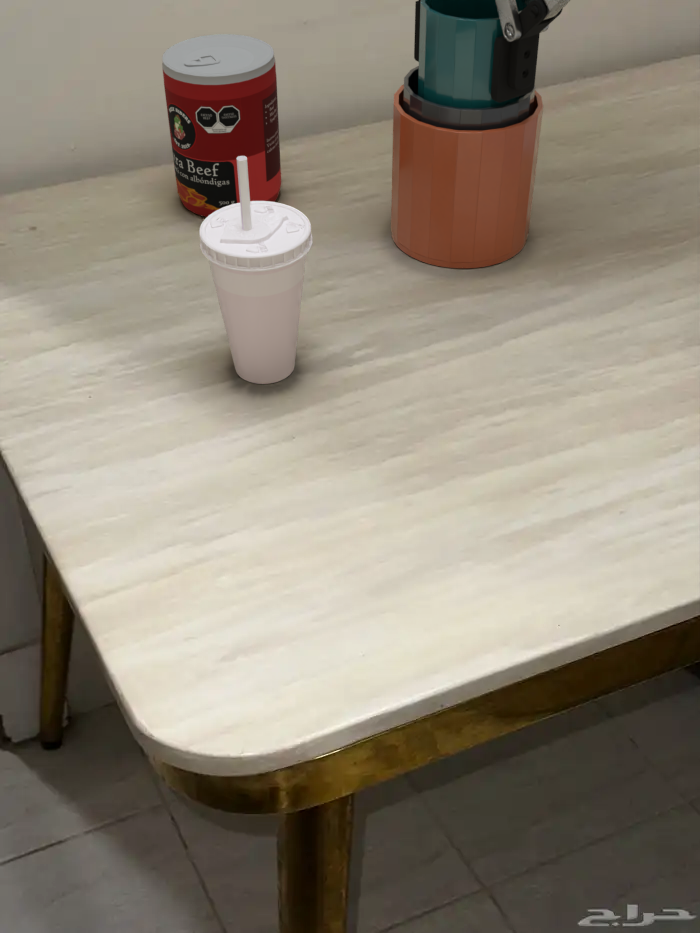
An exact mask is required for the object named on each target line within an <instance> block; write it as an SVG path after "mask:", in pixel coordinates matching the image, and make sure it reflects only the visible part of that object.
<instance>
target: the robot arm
mask: <svg viewBox="0 0 700 933" xmlns="http://www.w3.org/2000/svg"><path fill="white" fill-rule="evenodd" d="M524 1H525V5H526V7H525V8H524V9H523V10H522V11H521V12H520V13H518V9H517V5H516V0H495V2H496V6H497V11H498V15H499V19H500V23H501V27H502V32H503V35H504V36H500V37H497V38H495V43H494V55H493V69H492V83H491V98H492V99H493V100H494V101H496V102H499V103H501V102H504V101H507V100H510V99H513V98H516V97H519V96H522V95H525V94H528V93H530V92H532V90H533V89H534V85H535V84H536V74H537V66H538V65H537V64H538V53H539V44H540V35H541V33H544V32H547V30H549V27H550V24H551V23H553V21H554V20H556V19H557V18H558V17H559V16H560V15H561V14H562V12H563V10H564V8H565V7H566V6H567V5H568V4H569V3H570V2H571V0H524ZM420 3H421V0H417V1H415V5H414V6H415V9H414V43H413V47H414V48H413V58H414V60H415V61H416V62H418V63H419V38H420ZM535 86H536V85H535Z"/></svg>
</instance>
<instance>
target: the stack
mask: <svg viewBox="0 0 700 933" xmlns="http://www.w3.org/2000/svg"><path fill="white" fill-rule="evenodd" d="M403 98H404V83H403V84H401V85H400V86H399V88H398V89H397V90H396V91H395V92H394V93H393V107H392V108H393V111H392V157H391V158H392V159H391V160H392V161H391V162H392V163H391V164H392V165H391V206H390V208H391V210H390V213H391V214H390V234H391V238H392V240H393V242H394V244H395V245H396V246H397V247H398V249H399V250H400V251H401V252H402V253H404V254H406V255H407V256H409V257H410V258H413V259H415V260H417V261H419V262H422V263H425V264H428V265H432V266H436V267H440V268H441V267H442V268H449V269H450V268H451V269H478V268H486V267H490V266H491V267H492V266H494V265H498V264H501V263H503V262H505V261H508V260H510V259H511V258H514V257H515V256H517V255H518V254H519V253H520V252H521V251H522V250H523V249H524V247H525V246H526V244H527V241H528V236H529V234H530V228H531V226H530V225H531V218H532V217H531V216H532V210H533V209H532V208H533V199H534V192H535V183H536V173H537V165H538V158H539V157H538V156H539V148H540V137H541V131H542V130H541V129H542V121H543V112H544V104H543V98H542V95H541V94H540V93H539V92H538V91H537V90H536V89H535V94H534V104H533V113H532V116H530V117H528V118H527V119H525V120H524V121H522V122H520V123H517V124H514V125H511V126H508V127H505V128H499V129H491V130H483V131H470V130H453V129H447V128H441V127H436V126H433V125H429V124H426V123H423V122H420V121H418V120H416V119H415V118H413V117H411V116H410V115H408V114H406V113H405V112H404V110H403Z"/></svg>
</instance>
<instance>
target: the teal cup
mask: <svg viewBox="0 0 700 933" xmlns="http://www.w3.org/2000/svg"><path fill="white" fill-rule="evenodd" d="M516 5H517V9H518V13H520V12H521V11H522V10H523V9H524V8H525V7H526V5H525V1H524V0H516ZM500 36H504V35H503V32H502V27H501V23H500V19H499V15H498V11H497V6H496V2H495V0H421V3H420V38H419V62H418V66H419V74H418V96H419V97H421V98H423V99H425V100H427V101H430V102H433V103H436V104H439V105H443V106H450V107H456V108H489V107H497V106H502V105H505V104H509V103H512V102H515V101H517V100H519V99H520V98H522V97H523V96H524V95H522V96H519V97H516V98H513V99H510V100H507V101H504V102H501V103H499V102H496V101H494V100H493V99H492V98H491V83H492V69H493V55H494V43H495V38H497V37H500Z"/></svg>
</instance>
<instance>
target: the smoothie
mask: <svg viewBox="0 0 700 933" xmlns="http://www.w3.org/2000/svg"><path fill="white" fill-rule="evenodd" d="M237 170H238V182H239V195H240V203H236V204H231V205H228V206H225V207H223V208H221V209H218V210H216V211H215V212H213V213H212V214H210V215H209V216H208V217H205V219H203V221H202V222H201V224H200V226H199V232H198V233H199V248H200V251H201V253H202V255H203V256H204V257H205V258H206V259H207V260H208V263H209V266H210V267H209V268H210V272H211V276H212V279H213V280H212V281H213V284H214V288H215V293H216V297H217V301H218V304H219V309H220V313H221V316H222V321H223V325H224V329H225V333H226V336H227V340H228V345H229V349H230V353H231V358H232V361H233V366H234V370H235V372H236V374H237V375H238V376H239V377H240V378H241V379H242V380H244V381H246V382H249V383H251V384H258V385H267V384H268V385H269V384H273V383H278V382H280V381H283V380H285V379H286V378H288V377H289V376H290V375H292V373H293V372H294V370H295V368H296V357H297V356H296V355H297V347H298V346H297V345H298V336H299V327H300V316H301V315H300V314H301V306H302V296H303V287H304V277H305V276H304V275H305V271H306V270H305V269H306V256H307V254H308V253H309V252H310V251H311V248H312V246H313V234H312V225H311V221H310V219H309V218H308V217H307V215H306V214H304V212H302V211H300V210H299V209H297V208H296V207H293V206H292V205H288V204H286V203H282V202H277V201H275V202H271V201H250V193H249V179H248V165H247V157H246V156H239V157H237Z"/></svg>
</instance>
